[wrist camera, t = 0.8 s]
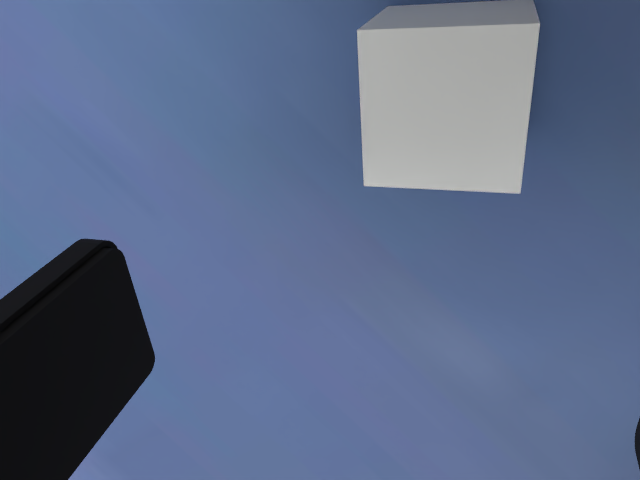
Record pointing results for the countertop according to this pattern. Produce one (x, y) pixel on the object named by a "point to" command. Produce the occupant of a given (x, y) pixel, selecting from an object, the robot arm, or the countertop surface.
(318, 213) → the countertop surface
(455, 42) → the grey cube
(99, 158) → the countertop surface
